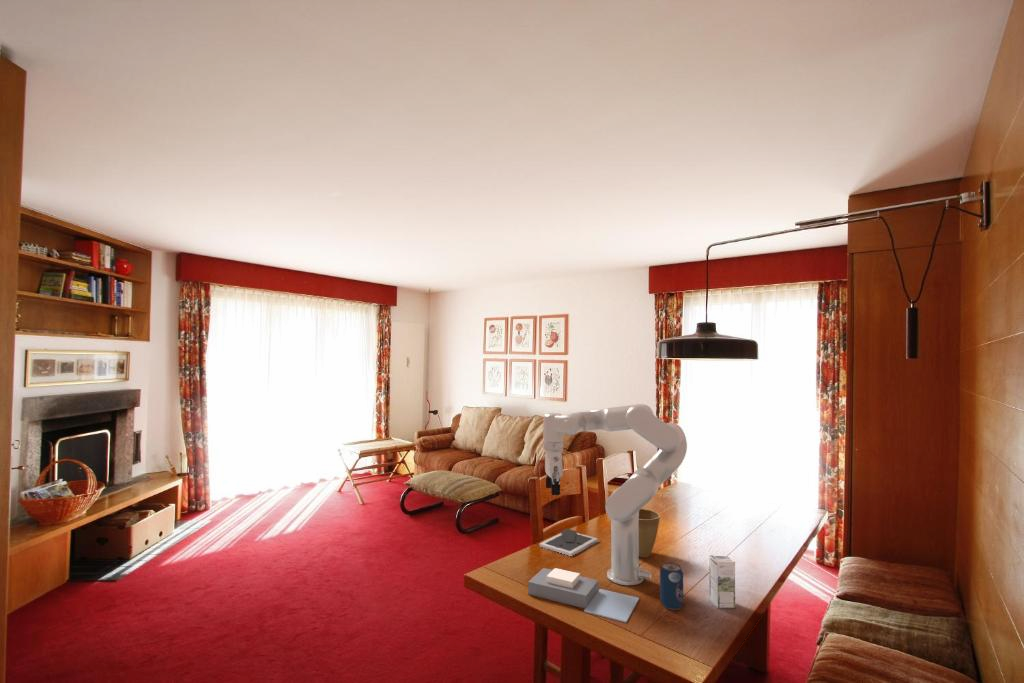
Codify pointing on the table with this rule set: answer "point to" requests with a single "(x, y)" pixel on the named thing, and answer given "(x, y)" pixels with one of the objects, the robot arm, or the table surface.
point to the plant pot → (647, 531)
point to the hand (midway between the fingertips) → (552, 491)
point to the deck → (563, 590)
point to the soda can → (671, 586)
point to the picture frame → (569, 542)
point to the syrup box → (722, 581)
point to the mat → (612, 605)
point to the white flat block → (563, 578)
